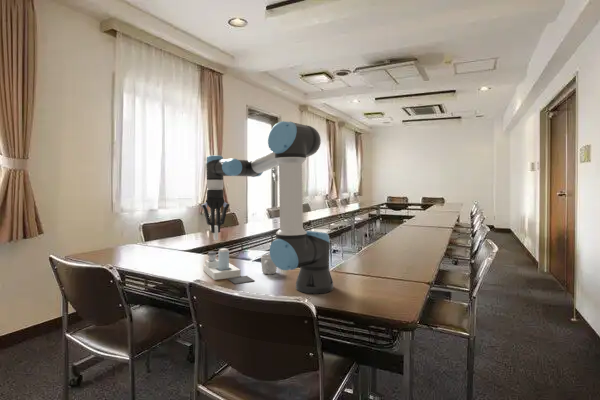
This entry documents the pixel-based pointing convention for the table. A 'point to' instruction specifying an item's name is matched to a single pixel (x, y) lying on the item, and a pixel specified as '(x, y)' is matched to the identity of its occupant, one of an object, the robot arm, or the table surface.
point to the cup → (268, 265)
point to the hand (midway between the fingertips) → (215, 239)
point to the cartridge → (223, 259)
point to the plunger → (212, 256)
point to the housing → (213, 272)
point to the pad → (240, 279)
